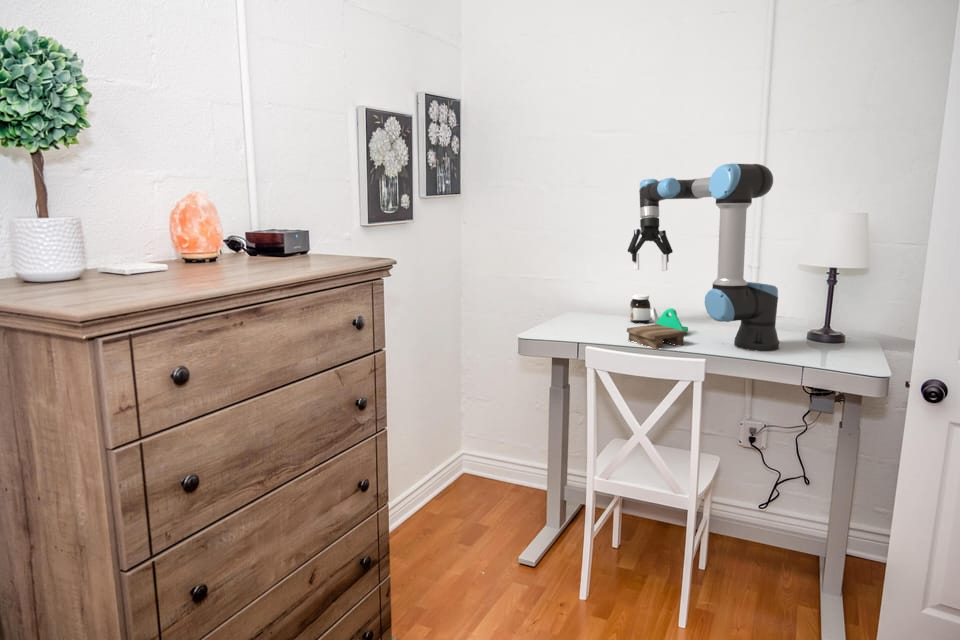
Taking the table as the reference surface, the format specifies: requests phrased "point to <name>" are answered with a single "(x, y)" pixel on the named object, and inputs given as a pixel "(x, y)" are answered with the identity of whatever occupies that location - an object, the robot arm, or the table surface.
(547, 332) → the table surface
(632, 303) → the spread jar
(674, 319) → the camera mount
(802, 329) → the table surface
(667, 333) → the walnut stand
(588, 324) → the table surface
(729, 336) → the table surface
